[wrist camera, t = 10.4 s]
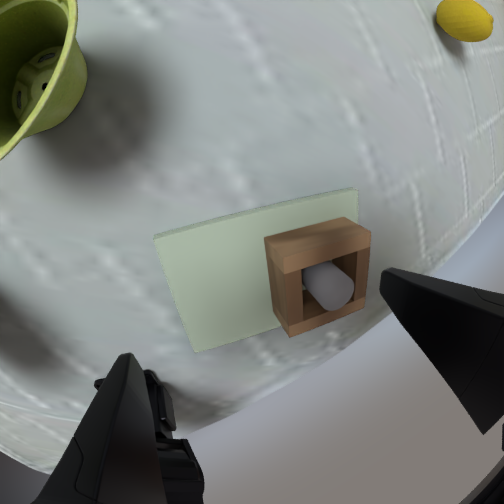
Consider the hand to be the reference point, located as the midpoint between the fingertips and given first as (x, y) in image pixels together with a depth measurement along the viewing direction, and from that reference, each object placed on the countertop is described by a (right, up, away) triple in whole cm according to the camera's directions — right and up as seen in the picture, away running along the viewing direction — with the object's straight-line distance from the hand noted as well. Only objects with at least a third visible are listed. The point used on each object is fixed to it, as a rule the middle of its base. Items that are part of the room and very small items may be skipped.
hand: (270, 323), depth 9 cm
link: (+4, +1, +14) cm, 15 cm away
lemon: (+20, +28, +8) cm, 35 cm away
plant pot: (-14, +13, +3) cm, 19 cm away
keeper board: (+1, +1, +14) cm, 14 cm away
